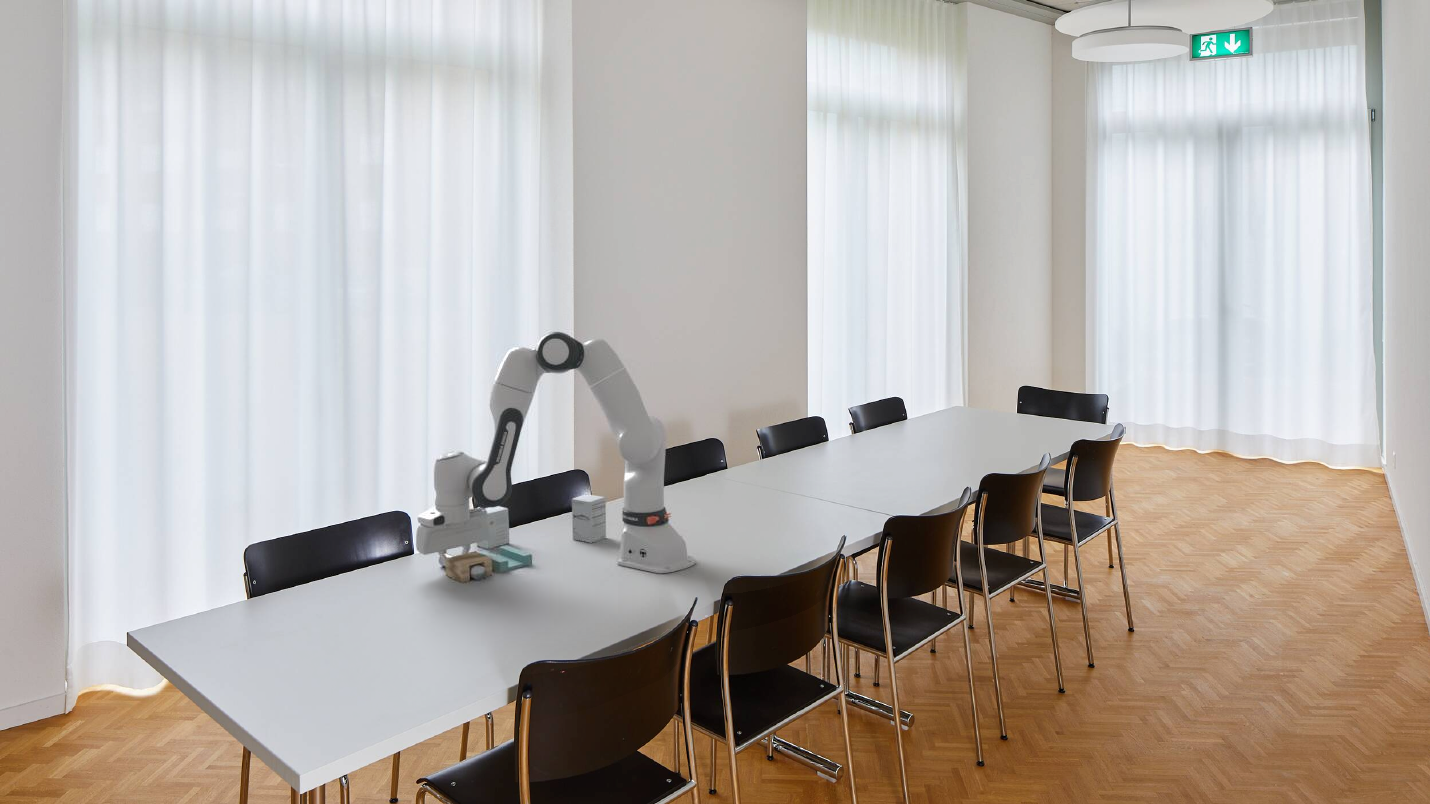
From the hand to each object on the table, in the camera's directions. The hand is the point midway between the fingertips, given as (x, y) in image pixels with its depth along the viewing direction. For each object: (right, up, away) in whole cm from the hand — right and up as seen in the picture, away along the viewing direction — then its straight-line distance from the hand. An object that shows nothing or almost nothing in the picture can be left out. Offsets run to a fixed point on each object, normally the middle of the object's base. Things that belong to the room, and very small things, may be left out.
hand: (454, 563), depth 258 cm
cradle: (+12, -1, +5) cm, 13 cm away
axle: (+3, -2, -2) cm, 4 cm away
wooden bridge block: (+5, -2, -5) cm, 7 cm away
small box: (+5, +1, +23) cm, 24 cm away
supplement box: (+32, +2, +28) cm, 43 cm away
